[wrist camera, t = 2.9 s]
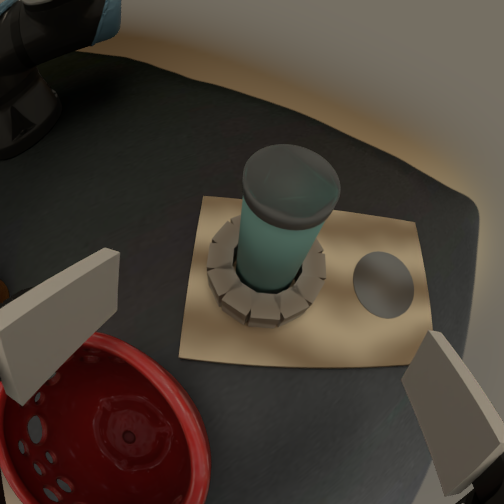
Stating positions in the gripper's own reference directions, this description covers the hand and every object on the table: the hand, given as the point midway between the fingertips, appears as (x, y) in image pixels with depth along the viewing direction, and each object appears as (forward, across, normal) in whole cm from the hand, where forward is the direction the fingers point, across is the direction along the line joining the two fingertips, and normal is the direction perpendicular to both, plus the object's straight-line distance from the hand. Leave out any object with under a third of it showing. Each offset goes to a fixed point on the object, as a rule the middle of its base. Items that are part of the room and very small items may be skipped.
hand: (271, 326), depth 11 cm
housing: (+17, +5, -4) cm, 18 cm away
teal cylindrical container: (+15, 0, -4) cm, 16 cm away
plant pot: (+4, -7, -16) cm, 18 cm away
